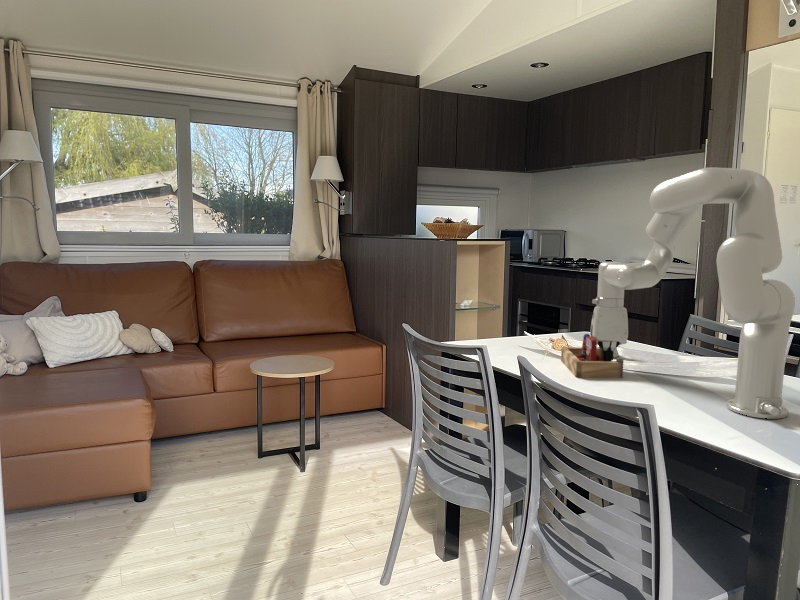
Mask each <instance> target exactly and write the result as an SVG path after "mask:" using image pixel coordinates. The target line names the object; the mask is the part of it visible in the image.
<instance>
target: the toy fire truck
mask: <svg viewBox="0 0 800 600" xmlns="http://www.w3.org/2000/svg"><path fill="white" fill-rule="evenodd" d="M581 345H582V346H581V347H582V353H581V354H576V355H575V356H576V357H577V358H578V359H579V360H580V361H603V359H602V358H600V357H599V355H598V354H596V349H597V348H598V345H597V341H596V340H595V339H594V338H592V337H591V334H589V333H585V334H584V335H583V337H582V344H581Z"/></svg>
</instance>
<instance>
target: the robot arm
mask: <svg viewBox="0 0 800 600" xmlns="http://www.w3.org/2000/svg"><path fill="white" fill-rule="evenodd" d="M709 204H721V205H723V204H732V205H735V206H736V207H735V212H734V219H733V223H734V227H735V235H732V236H729V237H728V238H726V239H725V240H723V242H722V243H721V245H720V246H719V248H718V250H717V253H716V271H717V279H718V285H719V290H720V298H721V304H722V307H723V311H724V312H725V313H726V315H727V316H728V317H729V318H730V319H731V320H732V321H733V322H736V323H738V324H742V326H741V330H740V335H739V345H738V353H737V355H738V356H737V367H736V368H737V369H736V376H735V377H736V378H735V379H736V380H735V390H734V391H735V393H734V398H730V399H728V400H727V401H726V407H727V409H729V410H730V411H731V412H735V413H736V414H739V413H740V415H742V414H743V416H746V415H747V417H752V418H757V419H765V418H767V419H766V420H768V419H769V420H774V419H775V420H776V419H778V420H779V419H783V418H786V417H787V416H789V409H788V408H787V407H786V406H784V405H783V398H782V396H783V387H784V386H783V385H784V376H785V365H786V356H787V355H786V354H787V348H788V340H789V339H788V338H789V331H790V328H791V327H790V326H791V322H792V319H793V315H794V311H795V306H796V297H795V294H794V293H793V290H792V288H791V287H790V286H789V285H787V284H786V283H784V282H783V281H780V280H776V279H767V278H766V279H763V274H769V273H772V272H774V271H775V270H777V269H778V268H779V267H780V265H781V263H782V261H783V251H782V250H783V249H782V245H781V237H780V231H779V223H778V218H777V213H776V203H775V194H774V191H773V187H772V184H771V182H770V181H769V180H768V178H767V177H765V176H764V175H763V174H761V173H759V172H757V171H753V170H750V169H745V168H744V169H743V168H734V167H714V166H713V167H711V166H710V167H703V168H699V169H696V170H693V171H690V172H688V173H684V174H682V175H679V176H675V177H673V178H670V179H666V180H664V181H662V182H661V183H659V184H658V185H656V186H655V187H654V189H653V190H652V191H651V193H650V196H649V206H650V208H651V210H652V211H653V212H654V215H653V216H652V217H651V219H650V220H649V222H648V224H647V225H646V227H645V234H646V235H647V236H648V238H649V239H650V240H652V241H653V245H652V248H651V250H650V252H649V254H648V255H647V257H646V258H645V259H644V261H642V262H632V263H630V262H628V263H624V262H622V261H621V262H620V261H603V262H601V263H600V264H599V265H598V273H597V275H598V277H597V278H598V280H597V296H596V298H593V299H592V301H591V303H592V304H595V305H596V306H595V307H594V309H593V313H592V316H591V317H592V318H591V322H590V323H591V324H590V336H591V337H592V338H594V339H595V340H596V341H597V346H598V347H599V346H600V347H601V348H602V359H603V361H614V358H613V353H614V350H615V349H616V348H618V347H619V346H622V345H625V344H627V343H628V341H627V340H628V338H629V319H628V311H627V310H628V309H627V308H626V307H624V304H625V303H624V302H625V301H624V300H625V290H629V291H630V290H638V289H646V288H647V289H648V288H652V287H654V286H656V285H657V284H658V283H659V282H660V281H661V280H662V279H663V277H664V276H665V275H666V273H667V272H668V270H669V269H670V268H671V265H672V263H673V261H674V256H675V252H676V245H675V244H676V242H677V241H678V239H679V237H681V234H683V232H684V230H685V229H686V227H687V226H688V225H689V223H690V222H691V220H692V219H693V217H694V216H695V214H696V213H697V212H698V210H699V208H700V207H701V206H703V205H709ZM607 341H610V342H609V347H608V348H607Z"/></svg>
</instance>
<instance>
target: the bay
mask: <svg viewBox="0 0 800 600" xmlns="http://www.w3.org/2000/svg"><path fill="white" fill-rule="evenodd" d="M581 353H582V346H579V347H577V346H575V347H574V346H573V347H568V346H566V347H564V346H563V347H561V357H560V361H561V362H562V364H563V365H564V366H565V367H566V368H567V369H568V370H569V371H570V373H572V374H573V376H574V377H575V378H596V379H597V378H598V379H601V378H602V379H604V378H605V379H607V378H610V379H623V378H624V377H623V375H624V360H623V358H615V359H616V361H614V360H612V361H580V360H579V359H578V358H577V357H576V356H575V355H576V354H581ZM596 354H598V355H599V357H600V358H602V348H601V347H600V346H599V345H598V347H597V349H596Z"/></svg>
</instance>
